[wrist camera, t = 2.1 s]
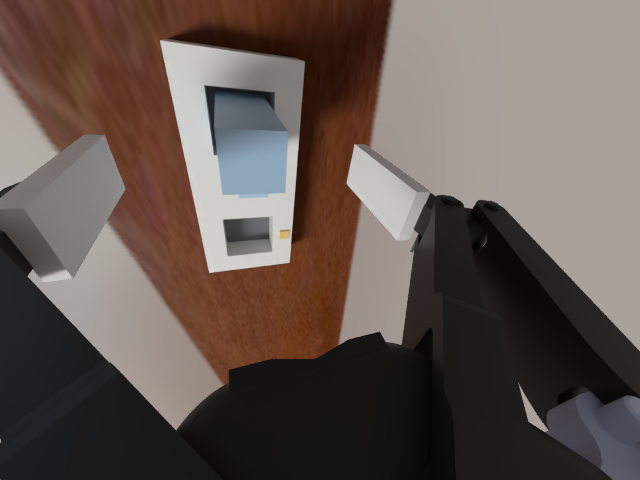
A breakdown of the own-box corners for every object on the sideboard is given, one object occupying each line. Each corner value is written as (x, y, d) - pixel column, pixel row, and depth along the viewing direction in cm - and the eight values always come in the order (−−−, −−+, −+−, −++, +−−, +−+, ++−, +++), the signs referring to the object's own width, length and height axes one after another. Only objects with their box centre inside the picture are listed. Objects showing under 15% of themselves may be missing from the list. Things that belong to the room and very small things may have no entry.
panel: (167, 38, 17) (159, 40, 14) (295, 58, 20) (305, 61, 17) (209, 254, 29) (209, 274, 27) (284, 246, 32) (289, 263, 30)
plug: (215, 89, 19) (214, 127, 12) (262, 94, 20) (288, 131, 13) (221, 146, 21) (224, 205, 14) (263, 147, 23) (284, 202, 15)
